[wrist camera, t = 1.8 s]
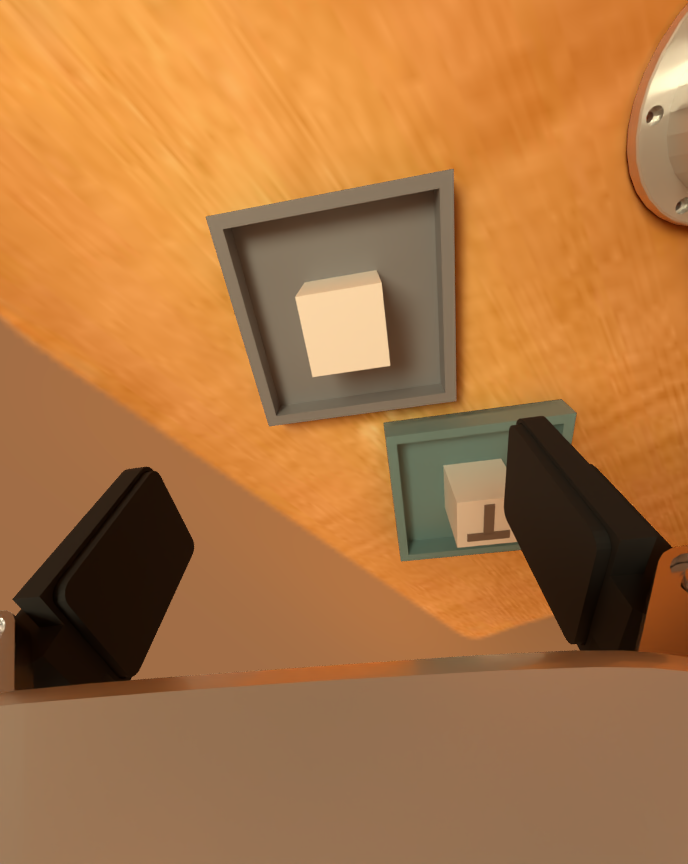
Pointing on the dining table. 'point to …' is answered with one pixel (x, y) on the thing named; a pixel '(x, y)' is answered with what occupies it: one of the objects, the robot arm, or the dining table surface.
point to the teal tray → (444, 445)
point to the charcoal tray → (338, 256)
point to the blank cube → (344, 323)
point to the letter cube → (477, 503)
